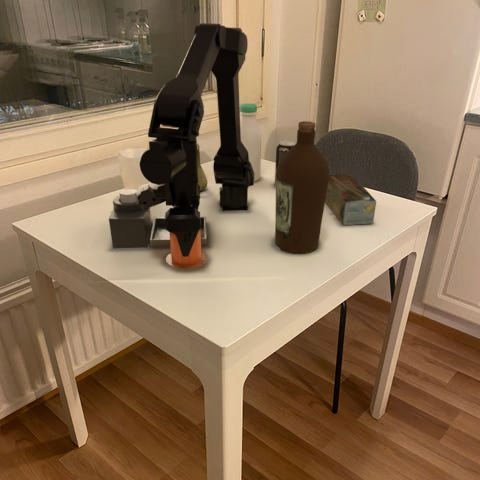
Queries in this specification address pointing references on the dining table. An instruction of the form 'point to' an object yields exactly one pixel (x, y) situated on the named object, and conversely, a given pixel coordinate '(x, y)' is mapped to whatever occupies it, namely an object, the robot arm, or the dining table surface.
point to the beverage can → (282, 151)
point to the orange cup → (193, 255)
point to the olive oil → (301, 194)
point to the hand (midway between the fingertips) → (185, 245)
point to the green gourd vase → (201, 172)
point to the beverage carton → (350, 200)
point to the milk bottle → (251, 136)
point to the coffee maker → (129, 225)
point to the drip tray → (163, 236)
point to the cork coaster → (200, 263)
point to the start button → (128, 196)
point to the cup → (131, 167)
